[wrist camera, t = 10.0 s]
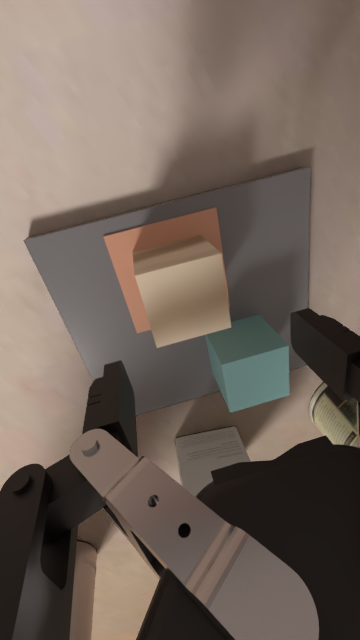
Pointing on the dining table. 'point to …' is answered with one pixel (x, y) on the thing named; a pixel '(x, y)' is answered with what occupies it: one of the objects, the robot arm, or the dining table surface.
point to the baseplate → (165, 227)
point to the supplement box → (207, 456)
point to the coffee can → (334, 416)
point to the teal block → (249, 363)
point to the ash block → (182, 289)
